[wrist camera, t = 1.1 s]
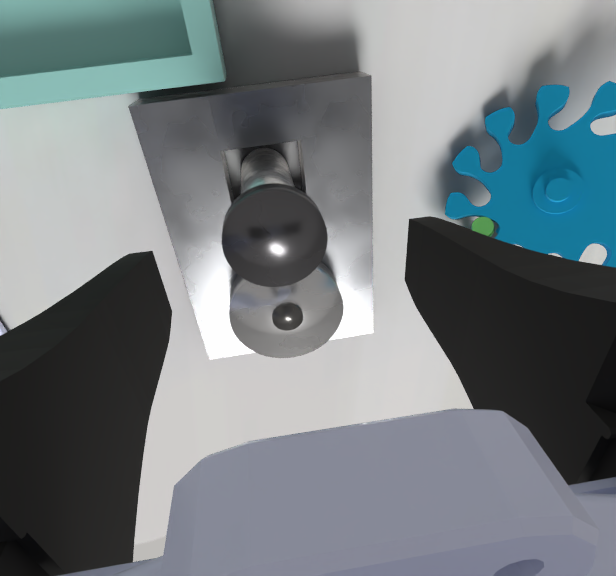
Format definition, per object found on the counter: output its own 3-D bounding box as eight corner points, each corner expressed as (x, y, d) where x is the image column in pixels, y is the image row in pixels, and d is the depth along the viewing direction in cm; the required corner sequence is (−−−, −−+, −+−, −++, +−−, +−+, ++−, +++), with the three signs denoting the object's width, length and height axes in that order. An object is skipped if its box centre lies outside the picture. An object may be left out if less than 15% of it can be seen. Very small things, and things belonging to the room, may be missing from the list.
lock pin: (236, 210, 21) (233, 294, 14) (222, 140, 19) (210, 199, 13) (303, 200, 21) (331, 279, 15) (296, 130, 19) (323, 183, 13)
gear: (601, 22, 17) (774, 210, 15) (579, 82, 22) (704, 226, 20) (388, 186, 21) (498, 350, 19) (411, 204, 27) (500, 333, 25)
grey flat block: (211, 338, 25) (207, 381, 22) (139, 98, 18) (116, 113, 15) (365, 313, 26) (381, 352, 23) (359, 71, 18) (383, 80, 15)
